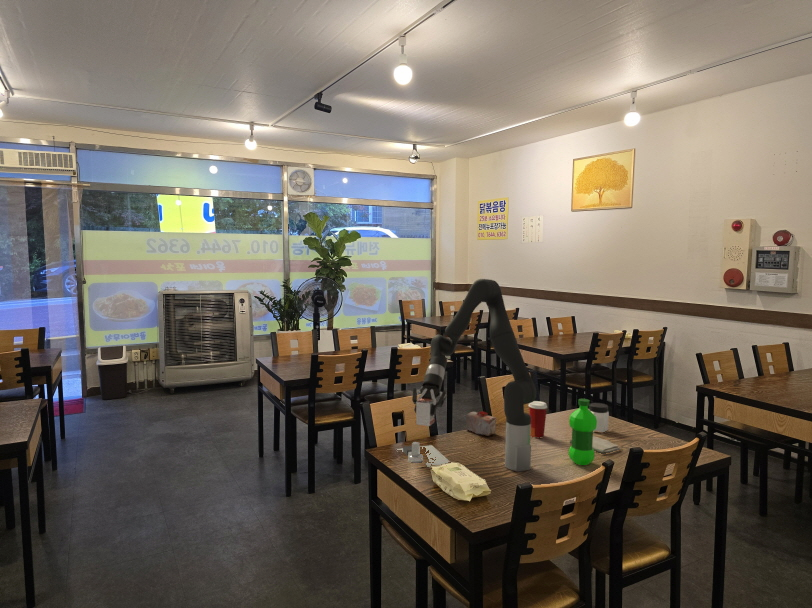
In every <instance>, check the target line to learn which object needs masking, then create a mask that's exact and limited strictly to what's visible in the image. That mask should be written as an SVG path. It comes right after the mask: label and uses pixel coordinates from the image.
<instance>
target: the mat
mask: <svg viewBox="0 0 812 608" xmlns="http://www.w3.org/2000/svg"><path fill="white" fill-rule="evenodd" d="M420 447H422V449H423V447H425V448H426V452H427V451H428V450H429V453H427V454H426V455H427V457H428V459H429V462H431V463H428V462H427V463H426V465H427V467H429V468H431V467H430V466H431V464H432V465H441V464H445V463H448V462H451V461H450V460H449V459H448V458H447V457H445V456H444V455H443V454H442V453H441V452H440V451H439V450H438V449H437V448H435V447H434V446H433V445H432V444H429V445H422V446H421V445H420ZM396 449H397V450H402V452H403V447H401V448H396ZM397 450H396V451H397ZM426 452H425V453H426ZM430 453H431V454H430ZM429 454H430V455H429ZM435 457H436V458H435ZM430 458H433V459H434V460H435V459H436V460H435V461H434V460H432V459H430ZM432 462H434V463H432Z"/></svg>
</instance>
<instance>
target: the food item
mask: <svg viewBox="0 0 812 608" xmlns="http://www.w3.org/2000/svg"><path fill="white" fill-rule="evenodd" d="M497 419H498V417H496V416H491V415H488V412H486V411H481V410H480V411H478V412H476V411H470V412H468V413H467V414H466V427H465V428H466V429H465V430H466V431H468V430H469V431H468V432H471V431H472V433H475V434H476V435H482V436H487V437H489V436H492V435H495V434H496V427H497Z"/></svg>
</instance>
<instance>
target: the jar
mask: <svg viewBox="0 0 812 608" xmlns="http://www.w3.org/2000/svg"><path fill="white" fill-rule="evenodd" d="M588 409H589V410H590V411H591V412H592V413H593V414H594V415H595V416H596V419H597V426H596V429H595V430H594V431H599V432H605V431H607V430H608V431H609V417H610V416H609V415H610V413H609V405H608V404H605V403H602V402H601V403H600V402H592V403H589V406H588ZM608 431H607V432H608ZM605 433H606V432H605Z"/></svg>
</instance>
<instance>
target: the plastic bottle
mask: <svg viewBox="0 0 812 608" xmlns="http://www.w3.org/2000/svg"><path fill="white" fill-rule="evenodd" d="M577 401H578V402H577V404H578V405H577V406H579V408H577V409H575V410H574V411H573V412H572V413H570V415H569V419H568V421H569V422H568V423H569V426H570V428H571V430H572V431H571V439H572V444H571V446H570V447H569V449H568V456H569V459H570V460H571V461H572V462H573V463H574V464H575V463H576V465H577V464H579V465H578V466H581V465H586V466H588V465H590V464H591V463H592V462H593V461H594V460H595V452H594V450H593V448H592V442H593V436H594V432H593V431H594V430H595V429H596V426H597V419H596V416H595V415H594V414H593V413H592V412H591V411H590V410H589V405H590V401H591V400H590V399H587V398H579V399H578V400H577ZM587 464H588V465H587Z"/></svg>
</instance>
